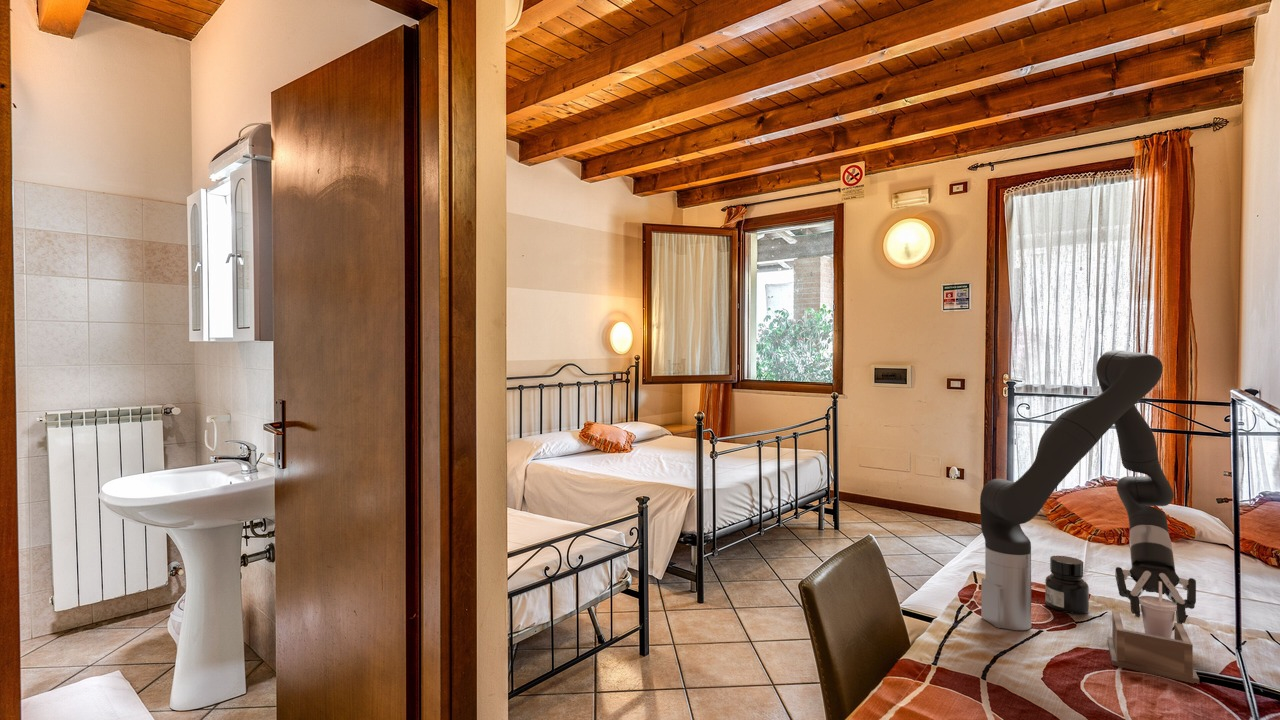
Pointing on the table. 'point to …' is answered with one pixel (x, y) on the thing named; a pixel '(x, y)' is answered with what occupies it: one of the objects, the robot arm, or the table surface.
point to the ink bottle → (1067, 586)
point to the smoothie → (1157, 614)
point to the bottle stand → (1152, 652)
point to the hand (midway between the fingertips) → (1158, 619)
